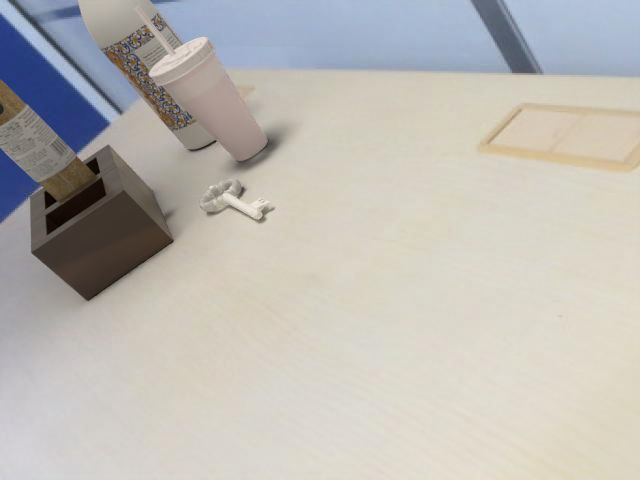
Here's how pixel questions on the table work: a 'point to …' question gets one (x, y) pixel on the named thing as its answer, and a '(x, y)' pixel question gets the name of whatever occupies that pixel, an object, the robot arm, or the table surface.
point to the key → (230, 199)
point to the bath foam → (141, 58)
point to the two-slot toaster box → (98, 226)
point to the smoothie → (207, 93)
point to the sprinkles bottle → (39, 148)
